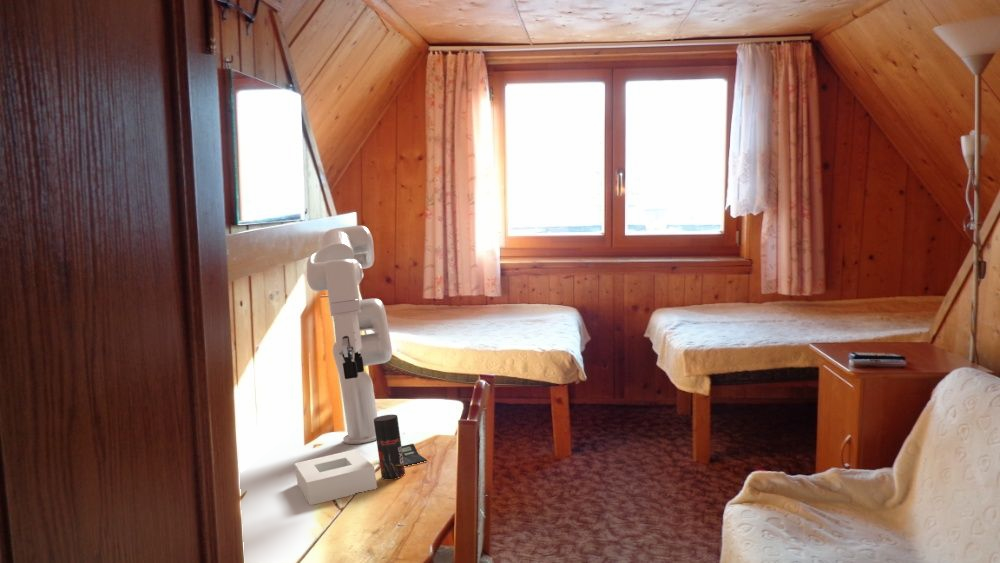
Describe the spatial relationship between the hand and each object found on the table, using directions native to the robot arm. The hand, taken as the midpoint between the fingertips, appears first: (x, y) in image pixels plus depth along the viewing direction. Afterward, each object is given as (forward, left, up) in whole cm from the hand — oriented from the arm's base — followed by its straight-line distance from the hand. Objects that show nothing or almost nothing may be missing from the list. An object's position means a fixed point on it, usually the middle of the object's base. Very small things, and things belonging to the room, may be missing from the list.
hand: (354, 375), depth 197 cm
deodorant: (+5, +5, -26) cm, 27 cm away
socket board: (+2, -9, -26) cm, 28 cm away
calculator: (-6, +11, -27) cm, 30 cm away
